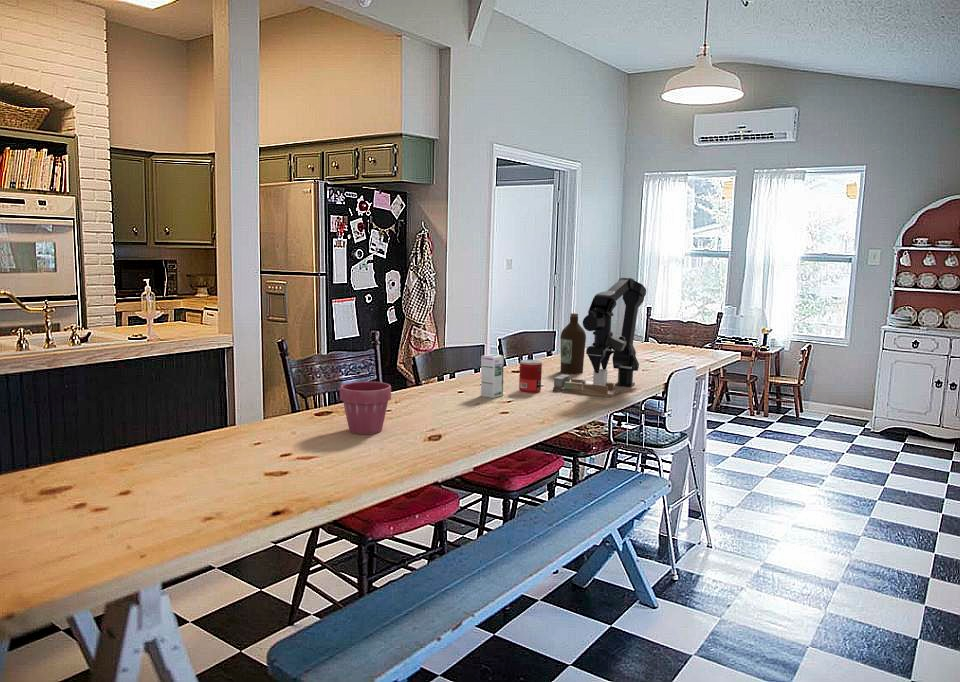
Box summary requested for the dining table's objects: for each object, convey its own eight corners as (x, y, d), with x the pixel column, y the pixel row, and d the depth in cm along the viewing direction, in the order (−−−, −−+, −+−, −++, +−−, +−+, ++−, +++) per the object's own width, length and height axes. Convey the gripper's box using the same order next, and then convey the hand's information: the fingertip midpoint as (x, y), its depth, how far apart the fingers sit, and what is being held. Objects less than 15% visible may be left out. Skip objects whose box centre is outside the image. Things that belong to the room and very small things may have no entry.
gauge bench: (562, 385, 274) (563, 374, 273) (619, 392, 265) (620, 380, 264) (552, 390, 264) (553, 378, 264) (611, 397, 255) (611, 385, 254)
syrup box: (493, 398, 247) (494, 357, 246) (479, 395, 251) (481, 355, 249) (503, 396, 252) (504, 355, 250) (489, 393, 255) (490, 353, 254)
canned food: (541, 393, 258) (542, 363, 257) (519, 392, 259) (520, 362, 257) (540, 389, 266) (541, 359, 265) (518, 388, 266) (519, 359, 265)
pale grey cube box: (584, 386, 267) (585, 367, 266) (606, 388, 263) (607, 369, 263) (578, 389, 261) (579, 370, 260) (601, 392, 257) (602, 372, 256)
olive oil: (572, 369, 312) (574, 312, 308) (589, 373, 303) (592, 314, 300) (553, 371, 305) (556, 312, 302) (570, 375, 297) (573, 315, 294)
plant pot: (335, 425, 204) (335, 381, 203) (383, 422, 210) (384, 379, 208) (345, 438, 191) (345, 391, 190) (396, 435, 196) (397, 389, 195)
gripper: (617, 333, 247) (615, 377, 249) (631, 328, 264) (629, 369, 266) (586, 330, 252) (584, 374, 254) (601, 326, 269) (599, 367, 271)
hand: (600, 371), depth 261 cm, fingers open, 9 cm apart
